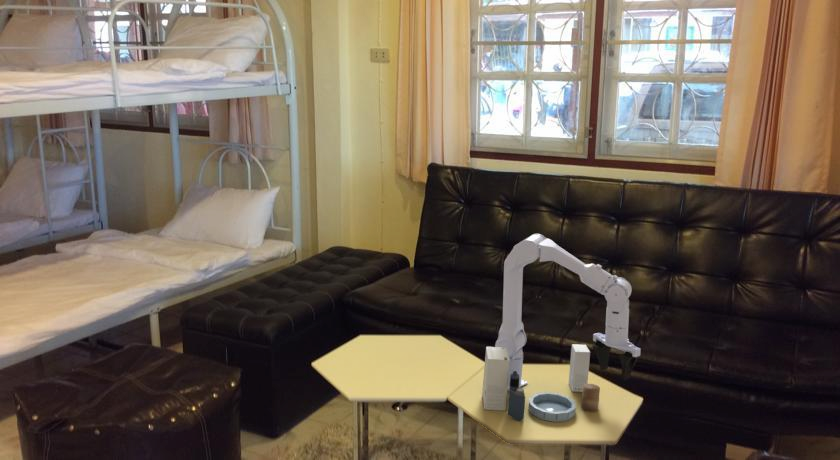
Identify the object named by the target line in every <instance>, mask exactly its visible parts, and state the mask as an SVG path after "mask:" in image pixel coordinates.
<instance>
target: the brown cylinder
mask: <svg viewBox="0 0 840 460" xmlns="http://www.w3.org/2000/svg"><path fill="white" fill-rule="evenodd" d="M600 390H601V388H600V386H598V385H597V384H594V383H587V384H585V385H583V391H582V392H581V393H582V395H581V404H580V407H581V409H582V410H583V411H584V412H588V413H594V412H595V413H596V412H598V410H599V402H600Z"/></svg>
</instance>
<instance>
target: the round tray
mask: <svg viewBox="0 0 840 460" xmlns="http://www.w3.org/2000/svg"><path fill="white" fill-rule="evenodd" d="M576 406H577V403H576V402H575V401H574V400H573V399H572V398H571V397H570V396H567V395H564V394H562V393H559V392H549V391H548V392H547V391H546V392H537V393H535V394H533V395H530V396H529V401H528V412H529V413H530V414H531V415H532V416H534V417H535V418H537V419H539V420H543V421H546V422H553V423H561V422H568V421H569V420H572V419H573V418H574V417H575V415H576Z"/></svg>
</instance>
